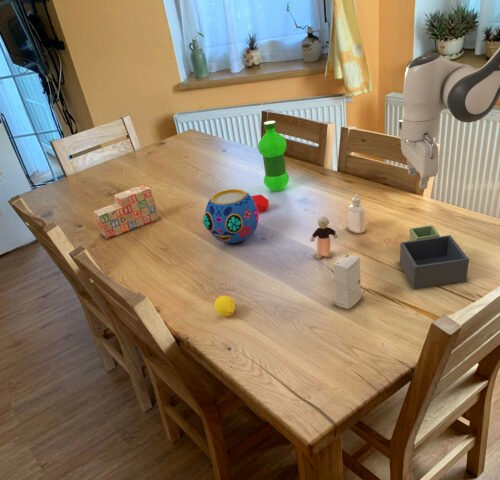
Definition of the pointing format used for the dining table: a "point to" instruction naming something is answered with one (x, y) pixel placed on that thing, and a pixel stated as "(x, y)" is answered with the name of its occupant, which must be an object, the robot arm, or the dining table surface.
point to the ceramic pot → (231, 216)
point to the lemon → (224, 305)
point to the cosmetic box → (347, 281)
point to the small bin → (423, 233)
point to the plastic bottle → (273, 158)
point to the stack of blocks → (127, 211)
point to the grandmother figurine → (323, 237)
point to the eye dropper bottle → (356, 216)
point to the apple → (261, 203)
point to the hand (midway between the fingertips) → (417, 181)
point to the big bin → (433, 262)
